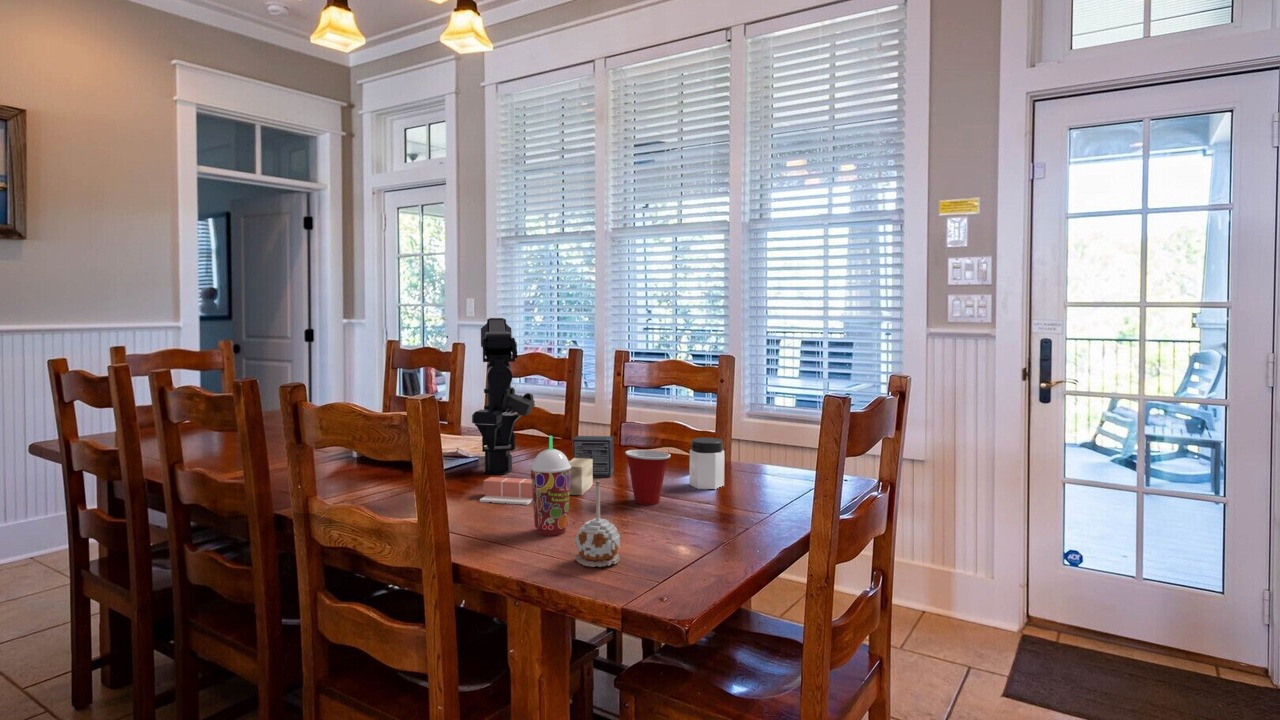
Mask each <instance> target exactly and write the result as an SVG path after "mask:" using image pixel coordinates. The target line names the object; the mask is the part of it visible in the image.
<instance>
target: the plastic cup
mask: <svg viewBox="0 0 1280 720" xmlns="http://www.w3.org/2000/svg"><path fill="white" fill-rule="evenodd" d="M625 456H626V457H627V463H628V466H629V473H630V482H631V487H632V492H633V498H634V501H635V503H636V504H639V505H645V506H647V505H655V504H658V503H659V501H660V500H661V493H662V489H663V484H664V479H665V472H666V469H667V464H668V461H669V459H670V458H671V454H670V453H668V452H664V451H659V450H651V449H630V450H629V449H628V450H626V451H625Z"/></svg>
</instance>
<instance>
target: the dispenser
mask: <svg viewBox="0 0 1280 720" xmlns="http://www.w3.org/2000/svg"><path fill="white" fill-rule="evenodd" d="M568 461H569V463H570V465H571V477H570V495H569V496H583V495H584V494H585V493H586V492H587V491H588V490H590V489H591V486H592V485H593V483H594V482H593V481H594V480H593V479H594V477H593V459H585V458H572V459H571V460H568ZM593 486H594V485H593ZM593 486H592V487H593Z"/></svg>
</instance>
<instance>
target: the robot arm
mask: <svg viewBox="0 0 1280 720" xmlns="http://www.w3.org/2000/svg"><path fill="white" fill-rule="evenodd" d="M512 333H513V332H512V327H510V326H509V324H507V320H506V318H504V317H489V318H487V319H486V323H485V324H484V325H483V326H482V327H481V328H480V348H482V362H483V363H487V365H486V388H484V389H483V393H484V394H486V395H487V397H486V399H487V400H486V403H487V404H486V405H484V406H483V409H478V410H477V411H475V412H474V413H473V414H472V415H471V418H472V419H471V423H472V424H474V427H476V428H477V430H478V432H480V434H481V436H482V437H481V443H482V445H481V447H482V449H481V452H482V453H484V470H483V471H482V474H487V475H488V474H489V475H491V474H492V475H506V474H507V473H510V472H511V471H513V456H512V454H511V452H513V451H514V450H516V433H514V427H515V423H516V421H517V420H519V418H521V417H522V416H523V417H526V416H527V415H530V414H531V412H532V410H533V408H535V406H536V404H535V402H536V400H534V395H533V394H531V393H530V392H527V393H525V394H524V395H523V396H522V395H521V394H519V395H518V394H516V393H515V391H516V390H515V388H514V386H513V387H512V385H511V384H512V382H513V373H512V370H511V367H512V366H511V364H510V363H514V362H515V363H516V359H518V344H517V341H516V338H515V337H513V336H512V335H513V334H512Z"/></svg>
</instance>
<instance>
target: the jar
mask: <svg viewBox="0 0 1280 720" xmlns="http://www.w3.org/2000/svg"><path fill="white" fill-rule="evenodd" d="M690 447H691V448H690V449H689V480H688V481H689V482H688V483H689V486H691V487H693V488H695V489H696V488H697V489H696V490H708V489H715V490H718V489H720V488H719V487H721V488H723V487H725V450H724V441H723V440H722V439H721V438H716V437H696V438H693V439H691V443H690ZM722 486H723V487H722ZM717 488H718V489H717Z"/></svg>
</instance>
